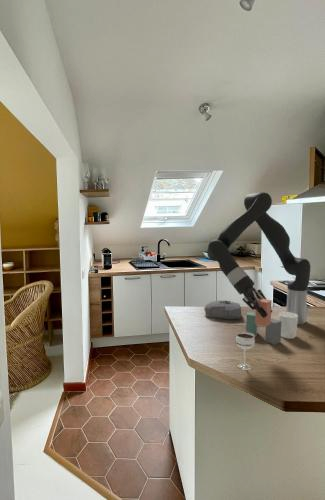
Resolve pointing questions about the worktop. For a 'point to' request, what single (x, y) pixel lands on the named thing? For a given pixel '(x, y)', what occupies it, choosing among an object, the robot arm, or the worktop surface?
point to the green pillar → (251, 323)
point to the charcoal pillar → (273, 332)
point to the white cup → (288, 324)
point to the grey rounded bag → (223, 310)
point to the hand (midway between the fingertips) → (268, 314)
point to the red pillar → (267, 307)
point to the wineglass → (245, 345)
